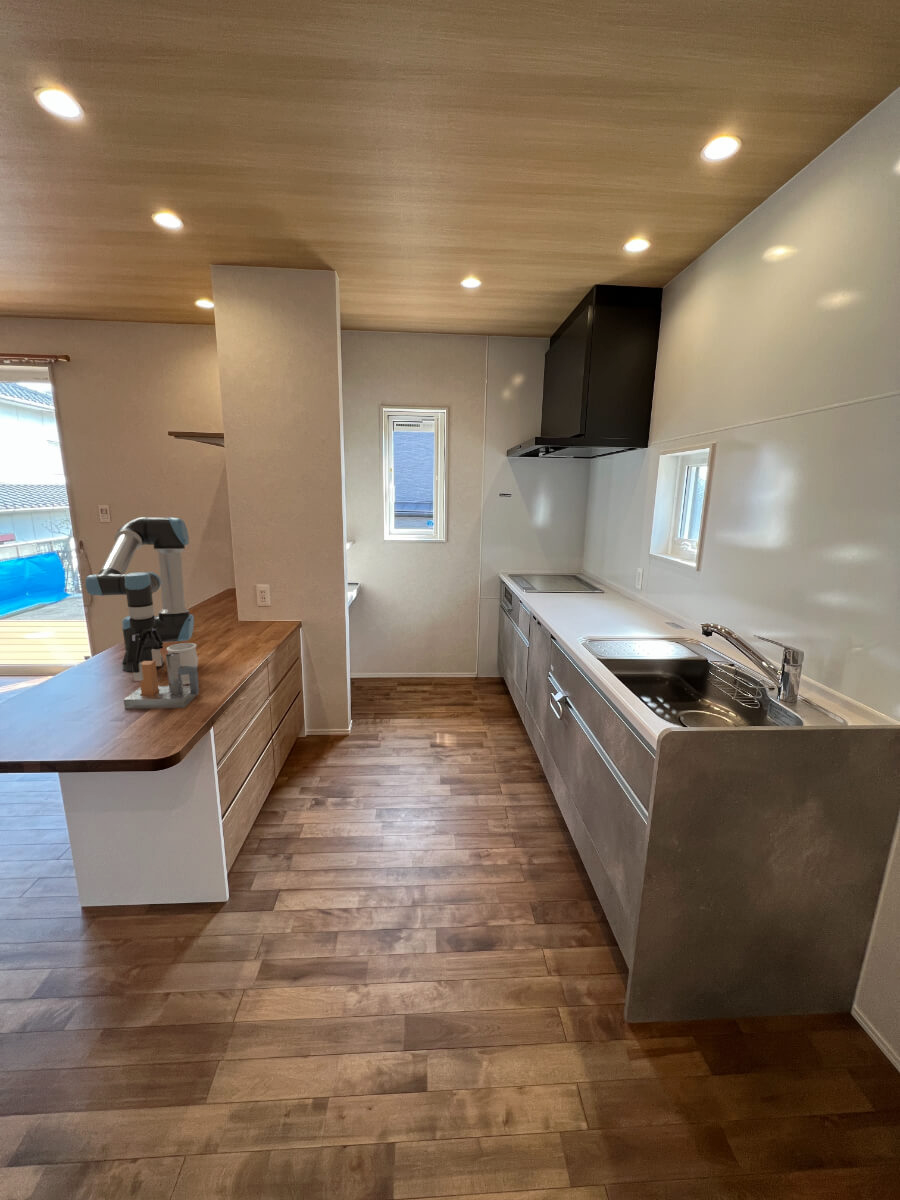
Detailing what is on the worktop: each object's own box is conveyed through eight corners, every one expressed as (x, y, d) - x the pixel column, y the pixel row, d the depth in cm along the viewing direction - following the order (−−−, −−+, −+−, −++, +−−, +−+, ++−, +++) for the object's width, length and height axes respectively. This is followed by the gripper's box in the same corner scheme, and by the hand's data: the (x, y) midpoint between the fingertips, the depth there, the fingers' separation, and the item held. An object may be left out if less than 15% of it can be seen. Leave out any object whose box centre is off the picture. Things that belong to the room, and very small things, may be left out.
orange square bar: (148, 699, 176) (143, 660, 173) (159, 698, 177) (155, 660, 174) (142, 703, 173) (138, 664, 169) (154, 703, 173) (150, 664, 170)
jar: (194, 674, 201) (191, 641, 198) (203, 682, 194) (200, 647, 190) (166, 681, 193) (163, 645, 190) (174, 688, 186) (170, 652, 183)
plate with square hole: (142, 694, 180) (137, 649, 176) (204, 694, 182) (201, 649, 179) (124, 708, 168) (118, 660, 164) (191, 707, 171) (187, 660, 167)
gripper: (148, 607, 179) (154, 660, 184) (110, 626, 155) (118, 686, 160) (169, 607, 180) (174, 660, 185) (134, 626, 156) (141, 686, 161)
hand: (148, 672), depth 173 cm, fingers open, 13 cm apart
